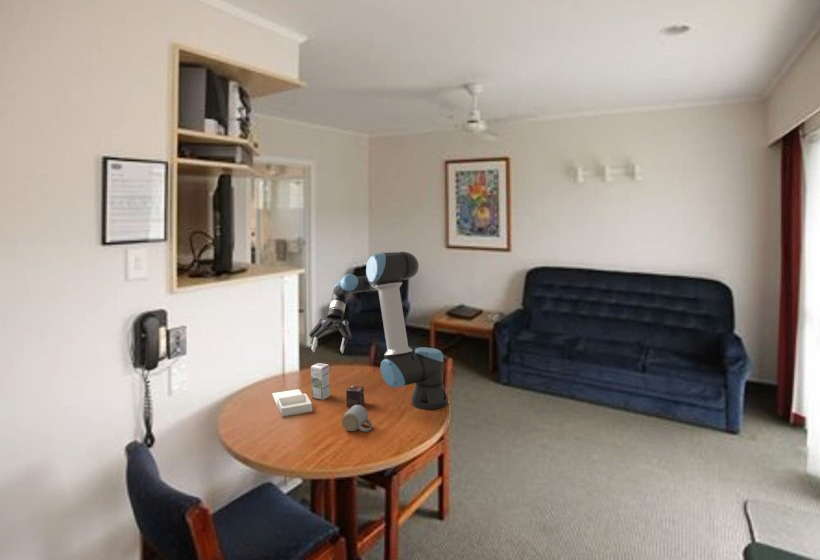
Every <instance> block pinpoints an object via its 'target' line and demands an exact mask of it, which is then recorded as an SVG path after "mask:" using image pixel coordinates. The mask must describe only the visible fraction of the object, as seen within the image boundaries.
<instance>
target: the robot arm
mask: <svg viewBox="0 0 820 560" xmlns="http://www.w3.org/2000/svg"><path fill="white" fill-rule="evenodd" d="M419 265H420V264H419V261H418V259H417V257H416V256H415V255H414V254H412V253H410V252H408V251H407V252H406V251H395V252H390V251H389V252H379V253H373V254H372V255H370V257H369V258H368V260H367V262H366V267H365V268H366V269H365V275H364V276H356V275H355V274H352V273H346V274H345V275H344V276H343V277H342V278H341V279H340V281H339V282H336V283H335V285H334V287H333V292H332V296H331V300H330V304H329V308H328V312H327V315H326V319H325V320H324V319H323V318H320V319H319V321H318V322H317V323H316V325H315V326H314V327H313V329H312V330H311V331H310V332H309V334H308V335H309V338H311V342H310V344H311V351H312V353H315V352H316V349H317V348H316V347H317V344H318V343H317V342H318V338H319V337H320V336H321V335H322V334H324V333H325V332H326V331H329V330H334V331H337V330H338V331H339V332H340V333H341V335H342V336H343V337H342V341H341V344H340V349H339V351H340V352H341V354H344V351H345V347H347V345H348V341H349V340H352V339H353V336H352V332H351V331H350V327H349V326H350V325H349V321H348V319H344V317H345V310H346V305H347V302H348V298H349V297H350V296H351V295H352V294H355V293H363V292H372V291H373V292H376V291H378V292H377V293H378V297H379V298H378V299H379V305H380V311H381V318H382V323H383V330H384V331H383V332H384V338H385V344H386V351H385V352H384V355H383V356H384V359H383V360H382V361H381V362H380V367H379V368H380V373H381V374H380V375H381V376H382V379H383V381H384V382H385V384H386V385H387V386H389V387H391V388H392V389H393V388H403V387H405V386H409V385H413V384H415V385H414V388H413V391H412V394H411V395H412V396H411V405H413V406H414V407H416V408H418V409H421V410H438V409H441V408H444V407H446V406H447V405H448V395H447V392H446V389H445V387H444V354H443V351H441V350H439V349H437V348H434V347H433V348H432V347H427V346H426V347H425V346H424V347H416V348H415V349H414V350H413V349H412V348H411V347H409V343H408V336H407V331H406V330H407V329H406V324H405V323H406V322H405V317H404V311H403V309H404V308H403V303H402V296H401V291H400V288H401V286H402V285H403V280H404V281H405V280H409V279H412V278H413V277H415V276H416V274H417V273H418V271H419ZM342 325H343V326H345V329H346V332H347V334H346V332H345V331H344V329H343V328H342ZM413 351H414V352H413Z"/></svg>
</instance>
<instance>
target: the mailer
mask: <svg viewBox="0 0 820 560" xmlns="http://www.w3.org/2000/svg"><path fill="white" fill-rule="evenodd" d="M271 394H272V398H273V400H274V403H275V404H276V406H277V410H278V412H279V414H280V416H281V418H283V417H289V415H290V416H294V415H295V416H296V415H301V414H306V413H307V414H308V413H312V412H313V403H312V402H311V399H310V398H309V396H308V394H306V393H302V392H301V390H300V388H299V389H292V390H285V391H279V392H273V393H271Z"/></svg>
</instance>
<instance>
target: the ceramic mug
mask: <svg viewBox="0 0 820 560" xmlns="http://www.w3.org/2000/svg"><path fill="white" fill-rule="evenodd" d="M341 424H342V426H343V428H344V429H345V430H347V431H349V432H356V431H358V430H360V431H362V432H363V433H364V432H365V433H366V432H370V431H371V430H372V428H373V423H372V422H371V421H370V419H369V413H368V411H367V409H366V408H365V407H364V406H363V405H362V406H361V405H354V406H352V407H349V409H348V410H347V411H346V412H345V413H344V415H343V416H342V418H341ZM365 424H367V425H369V427H367V428H366V427H364V426H363V425H365Z"/></svg>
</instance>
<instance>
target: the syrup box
mask: <svg viewBox="0 0 820 560" xmlns="http://www.w3.org/2000/svg"><path fill="white" fill-rule="evenodd" d="M329 366H330V365H329V364H327V363H319V362H317V363H315V364H313V365H311V366H310V378H311V397H312V399H316V400H319V401H320V400H322V401H323V400H325V399H327V398H329V397H330V396H331V394H330V390H331V389H330V371H329V369H330V368H329Z"/></svg>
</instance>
